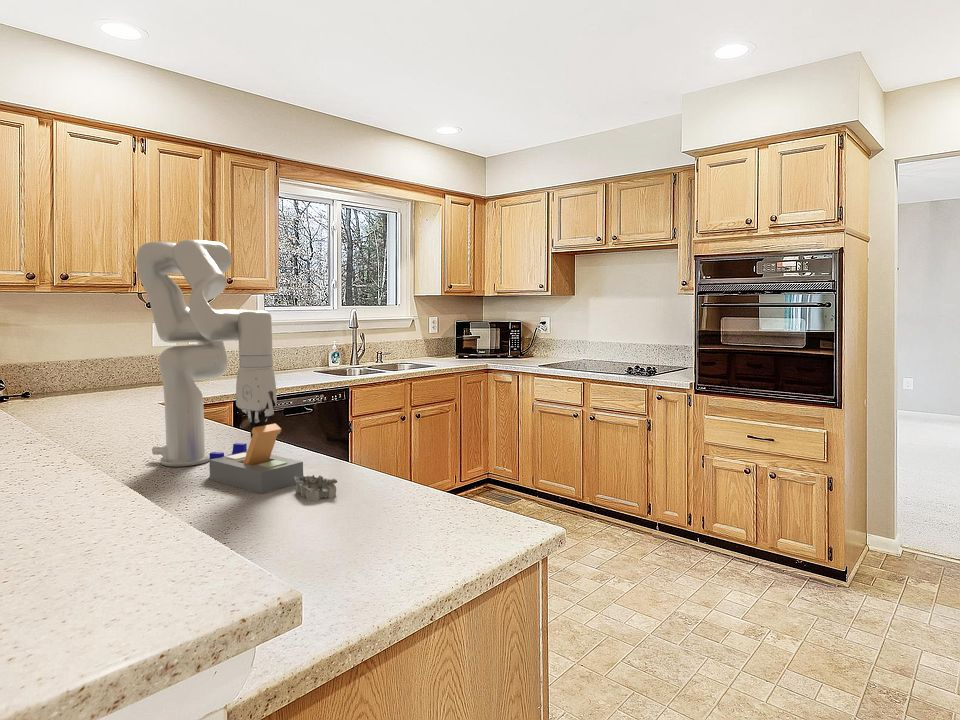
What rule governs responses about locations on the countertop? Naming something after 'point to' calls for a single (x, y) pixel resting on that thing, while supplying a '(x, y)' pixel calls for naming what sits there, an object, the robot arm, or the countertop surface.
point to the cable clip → (236, 449)
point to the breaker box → (255, 472)
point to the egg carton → (315, 487)
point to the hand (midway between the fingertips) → (258, 437)
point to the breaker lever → (261, 444)
